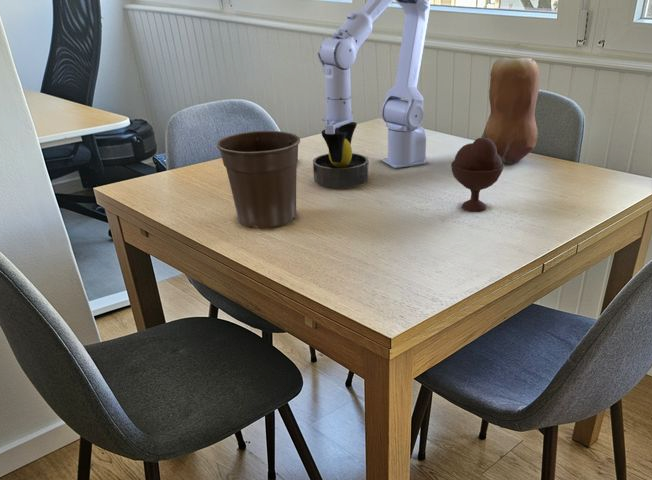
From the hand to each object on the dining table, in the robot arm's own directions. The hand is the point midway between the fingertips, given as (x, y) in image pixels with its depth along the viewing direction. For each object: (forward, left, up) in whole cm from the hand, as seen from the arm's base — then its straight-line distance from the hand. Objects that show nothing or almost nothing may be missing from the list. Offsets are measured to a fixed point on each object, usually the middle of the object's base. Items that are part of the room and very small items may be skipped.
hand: (340, 158), depth 147 cm
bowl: (0, 0, -6) cm, 6 cm away
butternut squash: (-45, +6, -6) cm, 46 cm away
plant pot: (+24, +15, -6) cm, 29 cm away
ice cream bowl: (-18, +30, -6) cm, 35 cm away
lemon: (0, 0, -3) cm, 3 cm away
